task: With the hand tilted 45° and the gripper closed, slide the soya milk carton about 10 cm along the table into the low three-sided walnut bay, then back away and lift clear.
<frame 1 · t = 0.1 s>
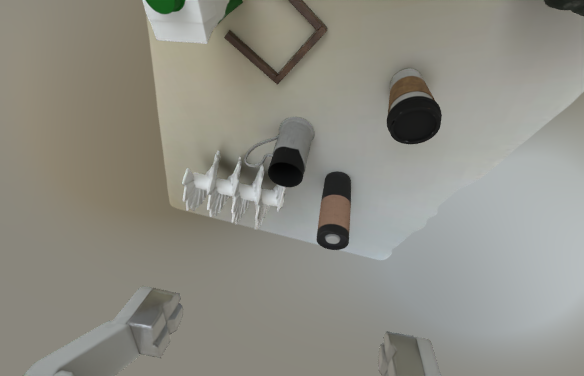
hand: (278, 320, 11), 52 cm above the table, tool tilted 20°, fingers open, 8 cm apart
coffee cup: (405, 82, 55), on the table
bay: (272, 29, 52), on the table
spiral staircase: (247, 168, 81), on the table
glass holder: (285, 130, 69), on the table
travel mug: (337, 180, 78), on the table
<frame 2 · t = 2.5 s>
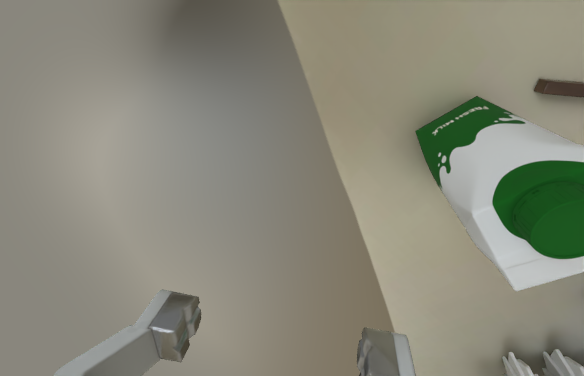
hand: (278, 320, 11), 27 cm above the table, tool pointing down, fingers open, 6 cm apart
bay: (564, 151, 31), on the table
spiral staircase: (563, 356, 47), on the table
soya milk: (457, 139, 33), on the table
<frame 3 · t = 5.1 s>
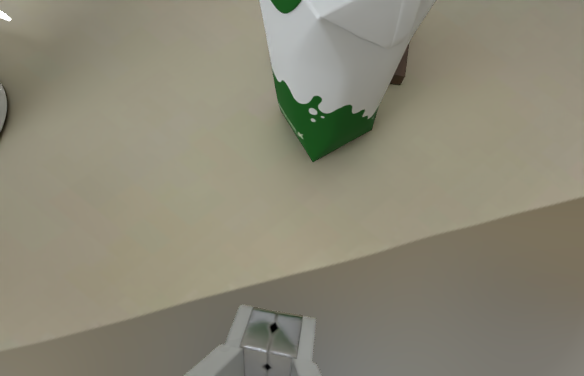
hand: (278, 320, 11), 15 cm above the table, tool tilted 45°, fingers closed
soya milk: (325, 120, 30), on the table
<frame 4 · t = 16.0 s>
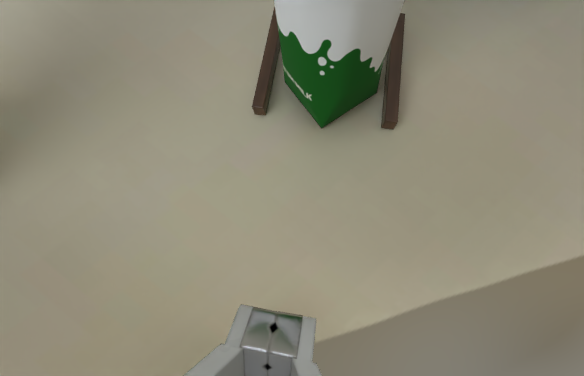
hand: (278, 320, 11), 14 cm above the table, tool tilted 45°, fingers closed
bay: (329, 72, 30), on the table
soya milk: (330, 88, 30), on the table
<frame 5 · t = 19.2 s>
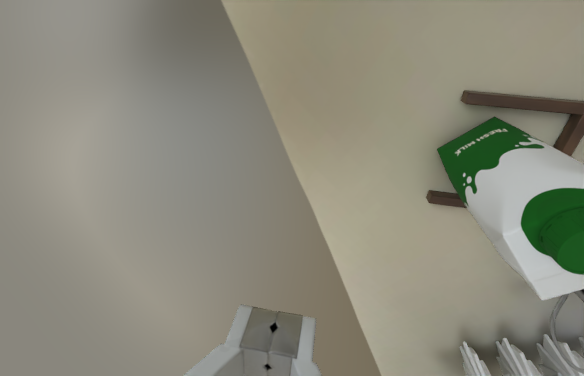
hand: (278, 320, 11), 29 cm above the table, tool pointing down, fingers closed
bay: (493, 155, 35), on the table
spiral staircase: (514, 345, 50), on the table
soya milk: (476, 155, 35), on the table
glass holder: (566, 268, 41), on the table
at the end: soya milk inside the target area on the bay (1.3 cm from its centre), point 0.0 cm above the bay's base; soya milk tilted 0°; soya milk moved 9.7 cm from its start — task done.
